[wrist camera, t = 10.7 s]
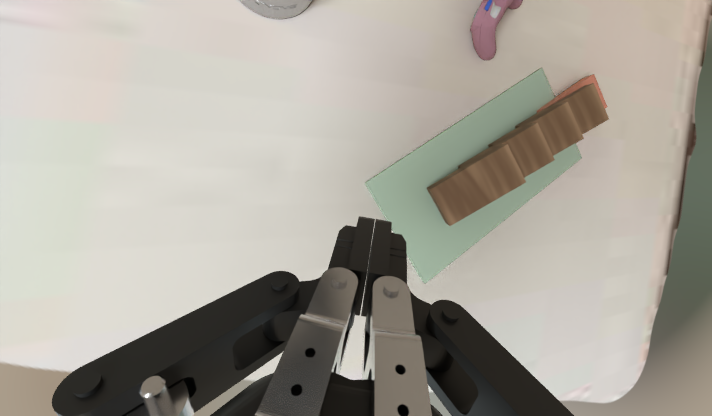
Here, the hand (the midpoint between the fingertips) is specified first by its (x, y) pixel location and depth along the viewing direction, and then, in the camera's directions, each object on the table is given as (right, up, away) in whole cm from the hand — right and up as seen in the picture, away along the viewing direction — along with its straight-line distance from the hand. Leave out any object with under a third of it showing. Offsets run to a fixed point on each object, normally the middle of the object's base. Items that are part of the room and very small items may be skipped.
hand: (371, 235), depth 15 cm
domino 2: (+9, +1, +23) cm, 25 cm away
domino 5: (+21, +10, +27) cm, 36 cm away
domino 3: (+17, +7, +26) cm, 32 cm away
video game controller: (+16, +25, +27) cm, 40 cm away
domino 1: (+13, +4, +25) cm, 28 cm away
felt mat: (+16, +6, +27) cm, 32 cm away
